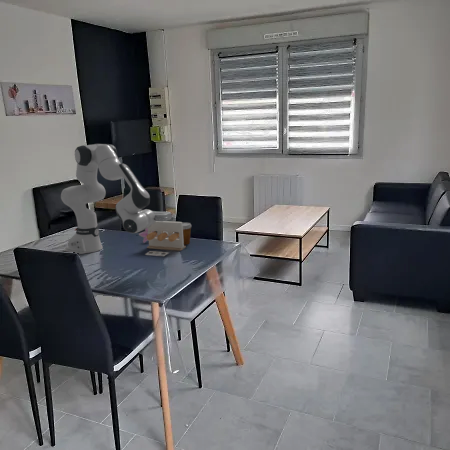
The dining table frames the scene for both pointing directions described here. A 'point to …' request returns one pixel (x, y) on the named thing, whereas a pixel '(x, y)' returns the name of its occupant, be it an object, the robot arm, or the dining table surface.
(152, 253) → the card
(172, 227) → the panel
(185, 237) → the disposable coffee cup
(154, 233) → the button left
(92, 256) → the dining table surface
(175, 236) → the button right
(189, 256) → the dining table surface
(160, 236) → the button middle
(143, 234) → the lily
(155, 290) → the dining table surface
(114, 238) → the dining table surface
